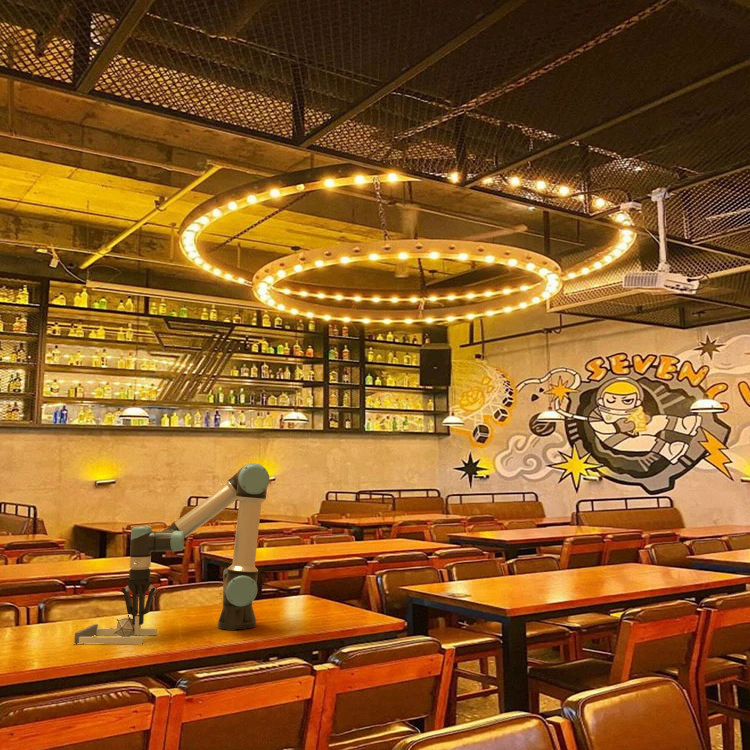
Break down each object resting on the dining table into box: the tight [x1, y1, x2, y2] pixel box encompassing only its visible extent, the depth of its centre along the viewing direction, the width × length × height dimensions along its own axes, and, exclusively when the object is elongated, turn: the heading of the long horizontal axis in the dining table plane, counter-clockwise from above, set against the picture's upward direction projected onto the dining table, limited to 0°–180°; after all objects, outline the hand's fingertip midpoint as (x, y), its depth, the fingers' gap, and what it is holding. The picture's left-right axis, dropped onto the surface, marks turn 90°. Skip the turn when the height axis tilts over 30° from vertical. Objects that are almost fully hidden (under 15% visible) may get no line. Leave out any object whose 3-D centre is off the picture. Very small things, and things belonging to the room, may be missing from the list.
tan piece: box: [73, 623, 158, 645], centre depth 275 cm, size 25×16×4 cm, turn 87°
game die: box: [114, 614, 138, 637], centre depth 276 cm, size 9×8×10 cm
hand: (137, 633), depth 274 cm, fingers closed
